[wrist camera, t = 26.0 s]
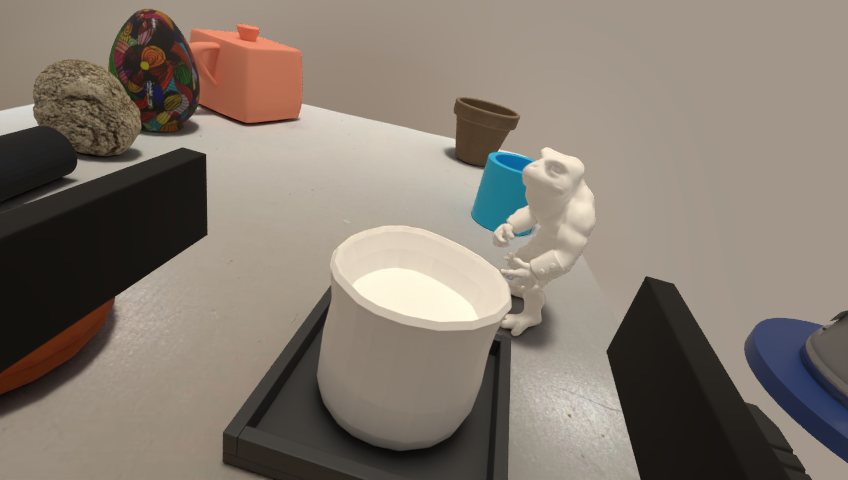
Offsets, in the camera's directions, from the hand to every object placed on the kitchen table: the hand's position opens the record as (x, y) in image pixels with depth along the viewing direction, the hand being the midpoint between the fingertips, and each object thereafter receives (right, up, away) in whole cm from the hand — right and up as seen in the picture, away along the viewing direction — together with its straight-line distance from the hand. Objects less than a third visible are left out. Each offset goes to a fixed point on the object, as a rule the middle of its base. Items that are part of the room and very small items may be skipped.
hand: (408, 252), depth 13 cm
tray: (-2, -10, +16) cm, 19 cm away
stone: (-38, +10, +39) cm, 55 cm away
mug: (+11, +4, +49) cm, 50 cm away
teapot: (-33, +24, +66) cm, 78 cm away
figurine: (+9, -6, +29) cm, 31 cm away
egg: (-37, +16, +50) cm, 65 cm away
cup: (-2, -10, +16) cm, 19 cm away
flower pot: (+9, +15, +69) cm, 72 cm away
